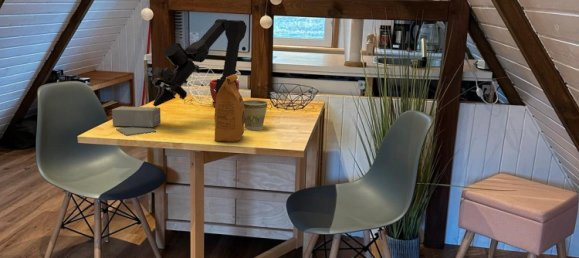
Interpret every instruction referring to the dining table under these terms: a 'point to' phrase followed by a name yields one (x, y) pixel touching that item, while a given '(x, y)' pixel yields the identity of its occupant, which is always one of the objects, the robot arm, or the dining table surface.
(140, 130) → the mat
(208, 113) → the dining table surface
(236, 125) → the coffee package
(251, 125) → the ceramic cup
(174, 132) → the dining table surface
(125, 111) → the skincare box
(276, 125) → the dining table surface
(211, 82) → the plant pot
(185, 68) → the robot arm
